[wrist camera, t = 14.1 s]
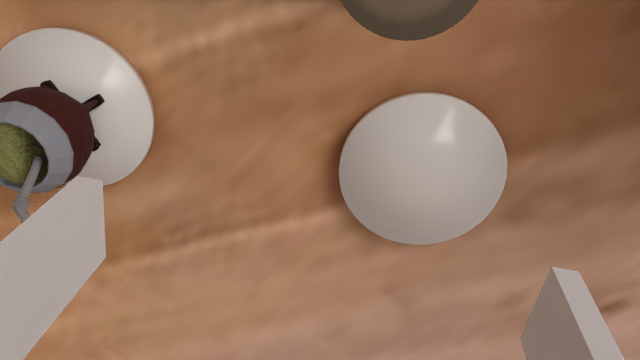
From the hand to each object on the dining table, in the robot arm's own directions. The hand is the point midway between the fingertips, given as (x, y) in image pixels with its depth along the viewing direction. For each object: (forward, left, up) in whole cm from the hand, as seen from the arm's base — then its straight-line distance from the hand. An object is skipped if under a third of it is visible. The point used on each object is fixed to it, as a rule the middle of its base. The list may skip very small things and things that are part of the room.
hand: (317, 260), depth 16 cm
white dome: (+8, +7, -27) cm, 29 cm away
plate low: (+8, -21, -27) cm, 35 cm away
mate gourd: (+8, -20, -25) cm, 33 cm away
